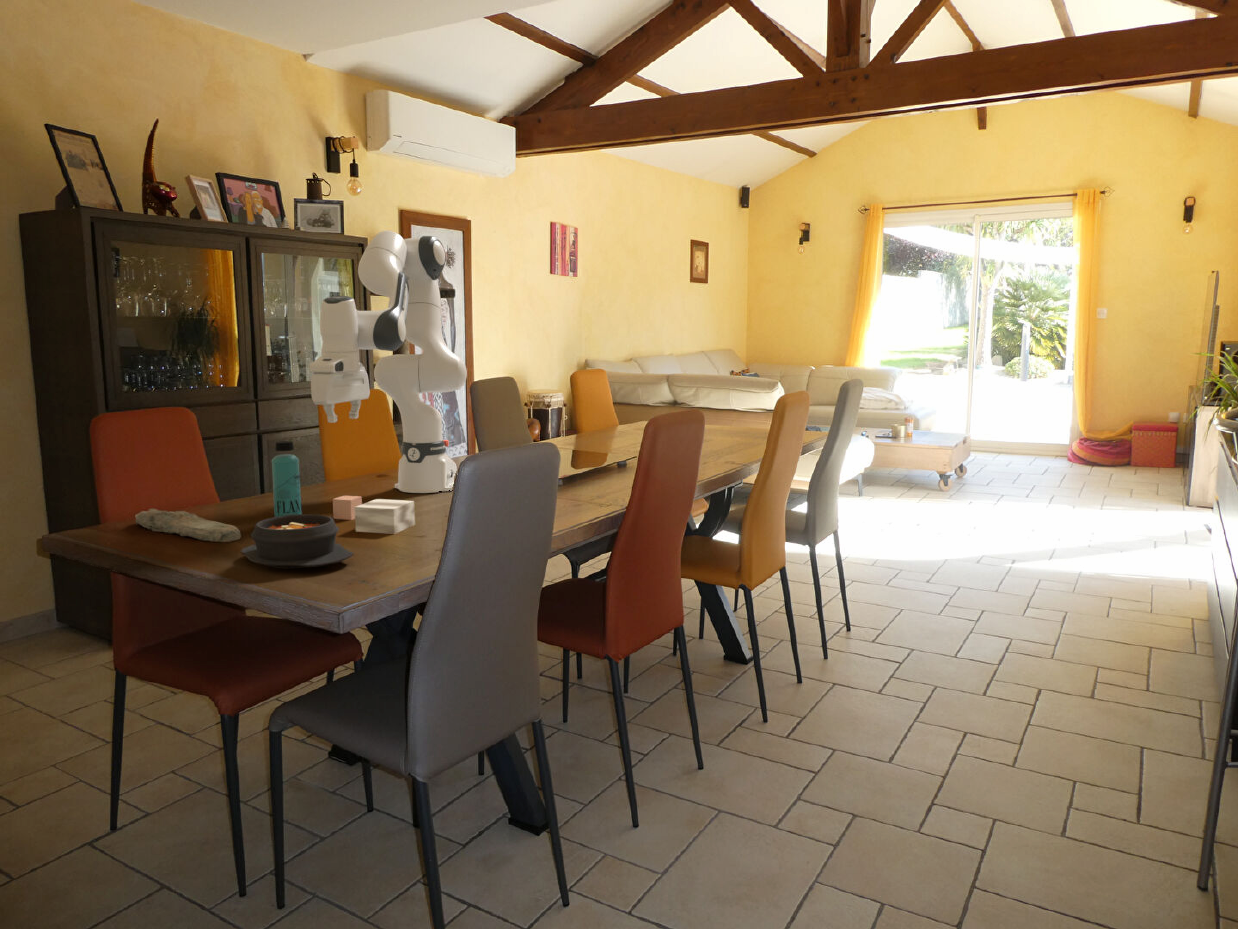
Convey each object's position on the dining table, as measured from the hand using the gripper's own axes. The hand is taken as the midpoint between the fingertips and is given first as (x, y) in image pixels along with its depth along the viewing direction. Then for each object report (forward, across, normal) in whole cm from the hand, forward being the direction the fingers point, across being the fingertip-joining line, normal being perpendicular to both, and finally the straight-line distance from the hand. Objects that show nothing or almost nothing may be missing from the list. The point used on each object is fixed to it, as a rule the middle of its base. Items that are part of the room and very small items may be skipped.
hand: (343, 420), depth 221 cm
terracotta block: (+24, 0, 0) cm, 24 cm away
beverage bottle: (+24, +10, -10) cm, 28 cm away
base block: (+24, +8, +15) cm, 30 cm away
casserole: (+25, +40, +13) cm, 49 cm away
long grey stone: (+25, +24, -28) cm, 44 cm away
